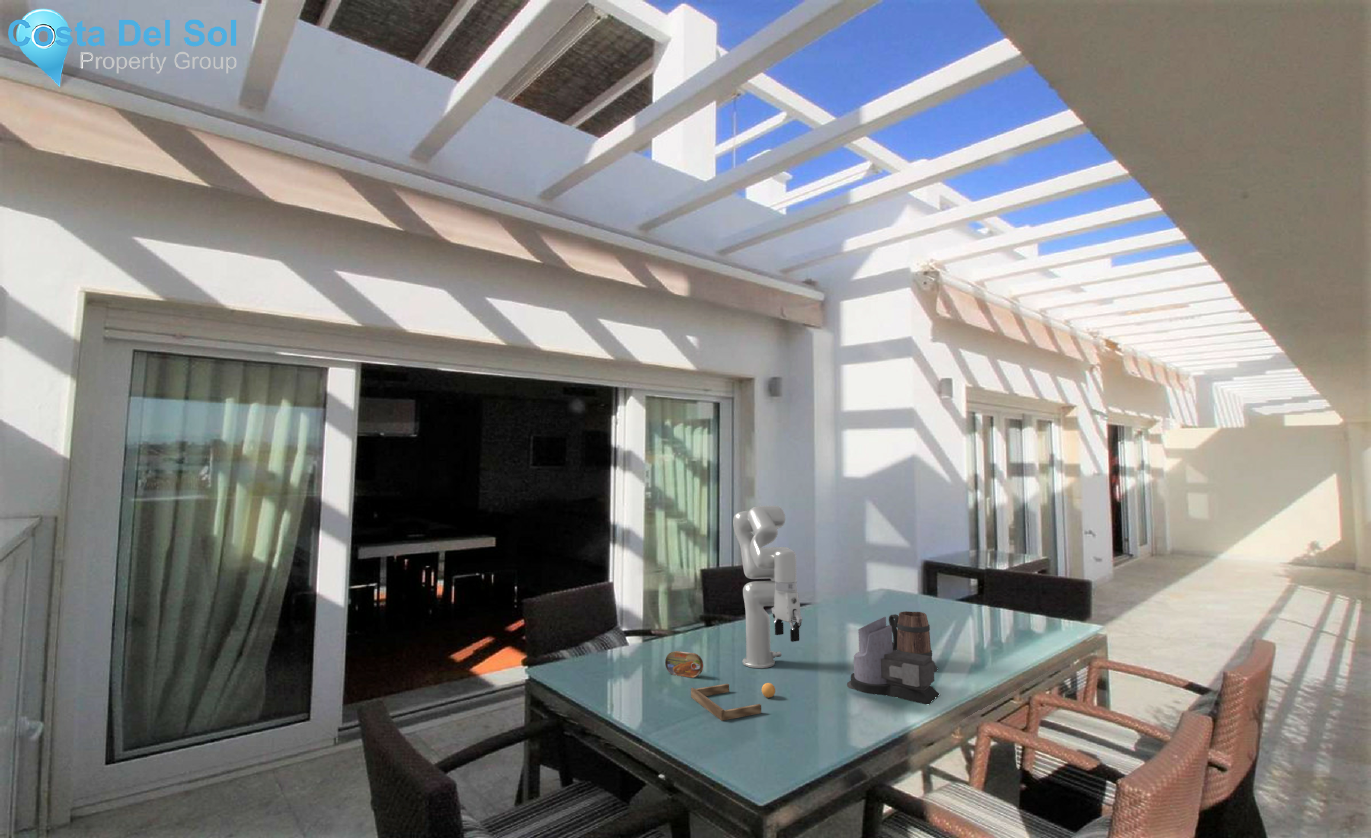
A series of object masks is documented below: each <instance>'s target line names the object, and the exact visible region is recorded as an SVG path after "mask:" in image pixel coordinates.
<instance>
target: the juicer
mask: <svg viewBox="0 0 1371 838" xmlns="http://www.w3.org/2000/svg"><path fill="white" fill-rule="evenodd" d="M857 630H858V652H856V653H855V654H853V668H854V671H853V673H850V674H851V675H850V680H848V682H847V683H846V687H847V688H848V689H851V690H855V691H857V692H860V693H864V694H869V695H875V694H877V695H878V696H879V695H880V696H882V695H883V694H884V695H883V696H886V695H887V697H891V698H895V697H898V698H897V699H901V700H906V701H910V702H915V703H918V704H923V705H926V704H929V705H931V704H932V703H931V701H932V700H934V699H935V697H938V695H939V694H940V693H939V692H938V691H937V690H936V689H935V688H934V687H933V686H932V683H934V682H935V672H934V663H935V661H934V660H933V659H932V660H931V656H926V655H921V654H915V653H909V652H904V651H898V650H893V646H892V642H893V633H892V626H891V625H890V624H889V625H887V617H886V616H884V617H883V616H882V617H881V618H878V619H876V620H875V621H873V622H871V623H869V624H866V625H863V626H861V627H860V628H858V629H857ZM938 698H939V697H938ZM935 700H936V699H935ZM935 700H934V701H935ZM930 703H931V704H930Z"/></svg>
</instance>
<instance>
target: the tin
mask: <svg viewBox="0 0 1371 838" xmlns="http://www.w3.org/2000/svg"><path fill="white" fill-rule="evenodd" d="M664 661H665V662H664V663H665V665H664V666H665V669H666V670H667V672H668V673H669V674H670V675H673V676H676V675H677V676H676V677H685V678H690V679H692V678H693V679H694V678H697V677H698V676H700V674H702V672H703V671H704V670H703V669H704V662H703V659H702V658H701V656H700V655H699V654H697V653H695V652H694V653H693V652H686V651H680V650H679V651H678V650H675V651H670V653H668V654H667V655H666V656H665V660H664Z"/></svg>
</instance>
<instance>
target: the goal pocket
mask: <svg viewBox="0 0 1371 838" xmlns="http://www.w3.org/2000/svg"><path fill="white" fill-rule="evenodd" d="M725 693H730V684H729V683H724V684H717V685H712V686H706V687H704V686H703V687H699V688H695V687H690V698H691V699H693V700H694V701H695V702H696V703H698V704H699V705H700V706H702V707H703V708H704V709H705V710H706V711H708V712H709V713H711V714H712V715H713V716H715V718H717V719H719V720H720V721H721V722H723V721H728V720H733V719H738V718H744V717H749V716H753V715H759V714H762V704H761V703H757V704H752V705H746V706H740V707H736V708H730V709H723V708H722V707H721V706H720V705H718V704H717V703H715V702H714V701H712V700H711V699H710V698H709V697H708V696H713V695H714V696H715V695H720V694H725Z"/></svg>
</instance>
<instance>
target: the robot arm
mask: <svg viewBox="0 0 1371 838" xmlns="http://www.w3.org/2000/svg"><path fill="white" fill-rule="evenodd" d="M732 520H733V521H732V522H733V525H732V526H733V530H734V534H735V537H736V539H737V542H738V544H739V547H740V554H741V561H742V568H743V573H744V575H745V577H746V578H747V579H751V580H759V581H750V582H747V583H746V584H744V586H743V588H742V597H743V601H744V608H745V609H744V610H745V642H746V643H745V650H746V651H745V652H746V653H745V655H746V656H745V657H744V658H743V659H742V665H744V666H745V667H749V668H751V669H752V668H753V669H767V668H771V667H773V666H775V664H776V661H775V658H780V657H782V651H775V650H771V619H770V618H771V617H770V615H769V613H768V612H767V611H766V610H765V609H764V607H771V612H772V617H773V623H774V635H775V636H782V635H784V633H785V632H784V630H785V629H784V622H786V623H789V625H790V630H789V632H790V633H789V634H790V635H789V636H790V642H792V643H794V642H800V629H801V626H802V621H803V617H802V614H801V604H800V598H799V593H798V585H797V582H798V580H797V578H798V577H797V554H796V552H795V551H794V550H792V549H791V548H789V547H786V546H782V547H780V546H778V547H777V546H776V547H775V546H773V547H770V546H769V547H765V546H767V545H769V544H771V543H772V542H774V541H775V540H777V537H778V530H779V529H780V528H782V527H783V526H784V525H785V522H786V513H785V512H784V509H783V508H782V507H781V506H780V505H757V506H754V507H752V508H750V509H749V510H744V511H739V512H736V514H734V516H733V519H732ZM752 532H753V533H754V534H753V533H752ZM760 579H761V580H760ZM762 579H763V580H762ZM765 579H770V580H765Z"/></svg>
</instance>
